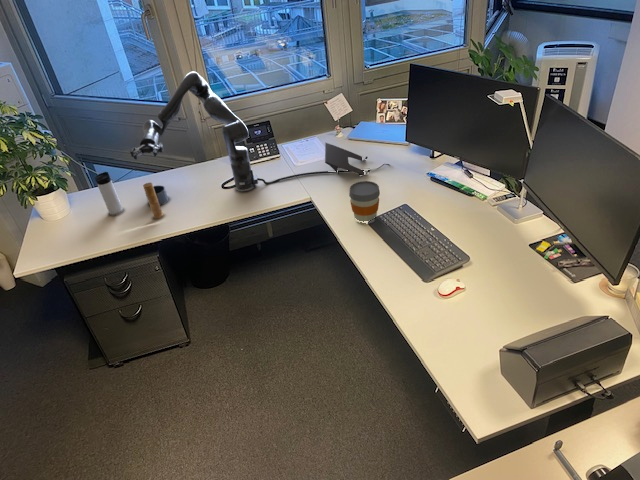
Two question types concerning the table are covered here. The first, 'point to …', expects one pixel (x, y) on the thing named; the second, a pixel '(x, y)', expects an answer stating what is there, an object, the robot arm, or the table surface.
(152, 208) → the wooden rod
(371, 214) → the reusable coffee cup
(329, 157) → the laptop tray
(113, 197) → the travel mug
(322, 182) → the table surface
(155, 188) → the pen cup
